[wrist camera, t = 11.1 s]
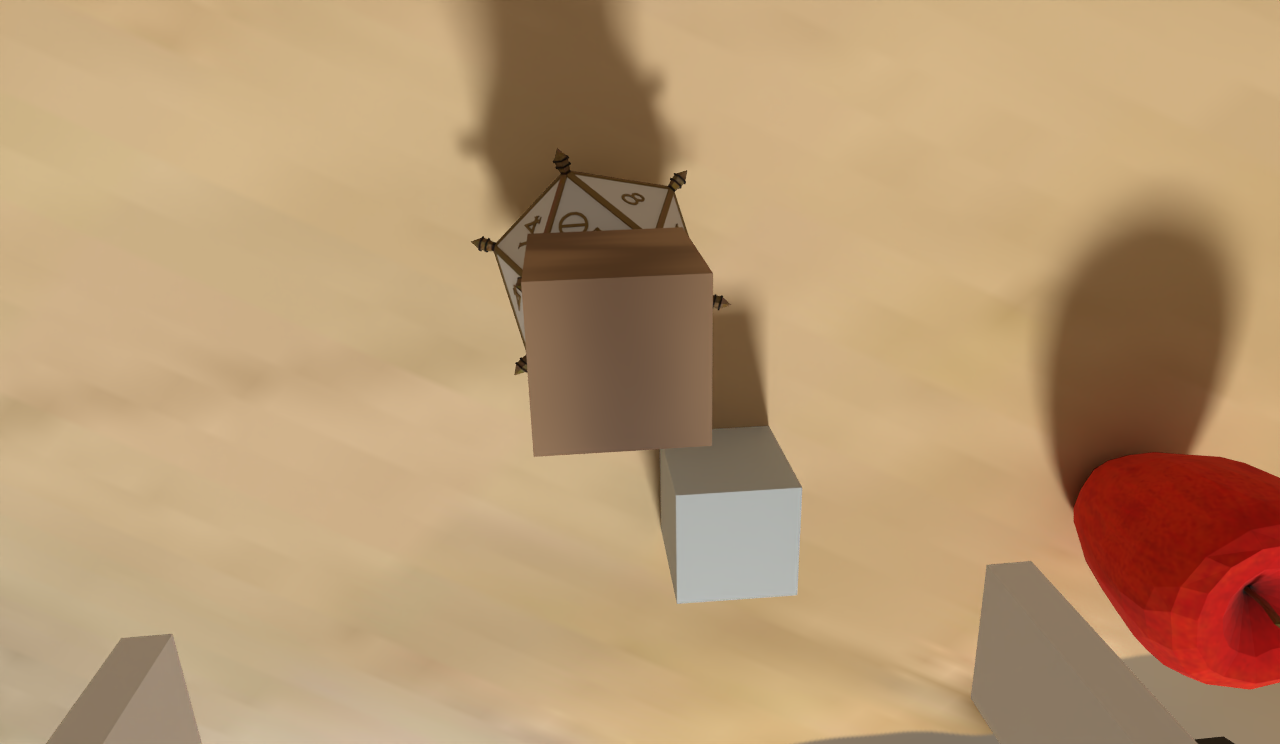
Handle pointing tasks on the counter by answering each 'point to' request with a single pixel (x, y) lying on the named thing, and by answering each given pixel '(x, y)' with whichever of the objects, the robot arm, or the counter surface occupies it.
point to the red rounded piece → (1190, 561)
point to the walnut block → (617, 341)
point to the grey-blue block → (731, 517)
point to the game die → (583, 221)
